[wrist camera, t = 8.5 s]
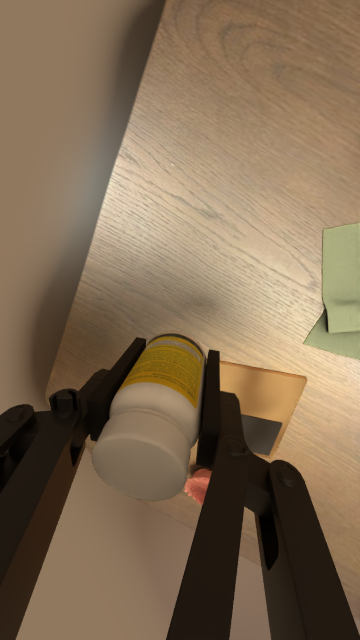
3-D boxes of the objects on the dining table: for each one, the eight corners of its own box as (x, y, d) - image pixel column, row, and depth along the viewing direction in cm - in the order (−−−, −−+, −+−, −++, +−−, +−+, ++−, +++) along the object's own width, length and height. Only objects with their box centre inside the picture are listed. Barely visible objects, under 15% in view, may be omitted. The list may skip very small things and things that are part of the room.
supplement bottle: (138, 334, 16) (62, 429, 8) (198, 324, 14) (178, 423, 7) (156, 385, 17) (107, 505, 9) (212, 379, 16) (207, 511, 8)
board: (176, 433, 40) (175, 438, 39) (187, 354, 33) (186, 358, 32) (271, 455, 38) (273, 461, 37) (305, 376, 31) (308, 381, 30)
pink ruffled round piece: (189, 482, 45) (185, 514, 40) (182, 457, 42) (178, 487, 37) (226, 484, 43) (227, 518, 38) (222, 458, 40) (222, 490, 35)
